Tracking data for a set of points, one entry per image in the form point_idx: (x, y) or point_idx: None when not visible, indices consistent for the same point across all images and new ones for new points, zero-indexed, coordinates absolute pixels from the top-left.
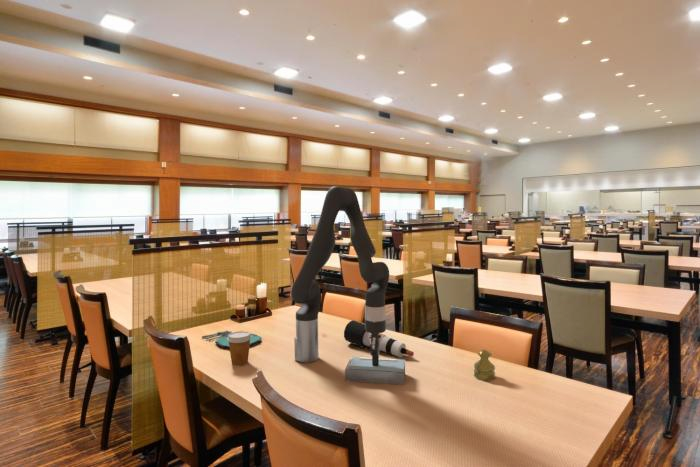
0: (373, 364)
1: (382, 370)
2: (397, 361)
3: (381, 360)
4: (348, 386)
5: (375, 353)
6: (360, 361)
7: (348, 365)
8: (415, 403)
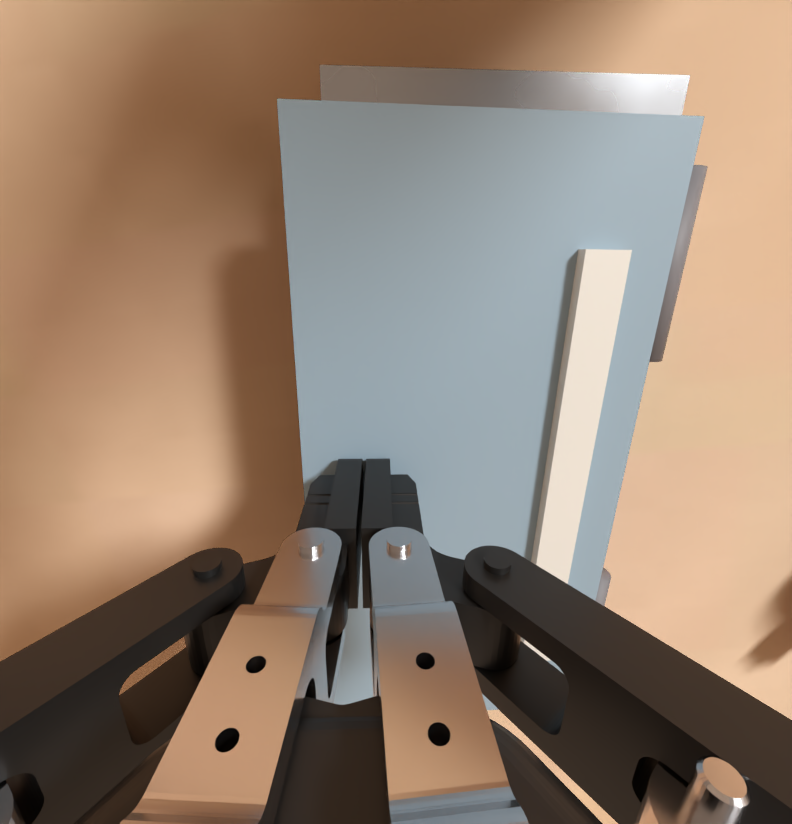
0: (316, 481)
1: None
2: None
3: (536, 525)
4: (215, 181)
5: (189, 653)
6: (483, 281)
7: (279, 110)
8: None
